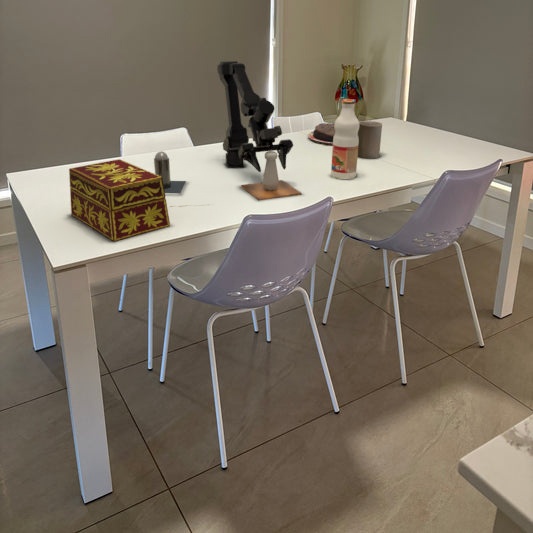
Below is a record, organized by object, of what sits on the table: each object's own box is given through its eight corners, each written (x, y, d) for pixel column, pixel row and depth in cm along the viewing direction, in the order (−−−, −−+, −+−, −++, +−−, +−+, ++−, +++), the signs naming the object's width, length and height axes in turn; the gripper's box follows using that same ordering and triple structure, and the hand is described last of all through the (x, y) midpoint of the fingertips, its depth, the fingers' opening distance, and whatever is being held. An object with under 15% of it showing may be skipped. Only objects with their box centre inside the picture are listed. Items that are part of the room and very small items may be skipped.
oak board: (281, 181, 215) (281, 180, 215) (301, 194, 202) (301, 192, 201) (241, 186, 209) (240, 185, 209) (258, 200, 196) (258, 198, 196)
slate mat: (186, 182, 213) (186, 181, 212) (180, 195, 200) (180, 193, 200) (147, 181, 213) (147, 180, 213) (139, 194, 200) (139, 192, 200)
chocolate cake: (371, 146, 263) (373, 132, 260) (309, 146, 263) (310, 131, 260) (363, 132, 288) (364, 119, 285) (306, 131, 288) (306, 118, 285)
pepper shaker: (170, 184, 209) (168, 149, 204) (170, 188, 204) (168, 153, 199) (156, 184, 208) (153, 150, 203) (155, 189, 204) (153, 154, 198)
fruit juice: (357, 179, 218) (363, 102, 206) (332, 179, 218) (336, 102, 206) (354, 172, 226) (360, 97, 214) (329, 172, 226) (334, 97, 214)
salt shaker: (258, 188, 206) (258, 151, 200) (271, 185, 209) (271, 148, 203) (269, 192, 202) (270, 155, 196) (282, 189, 205) (282, 152, 199)
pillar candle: (353, 157, 246) (356, 121, 240) (359, 152, 254) (362, 116, 248) (376, 160, 243) (380, 123, 236) (381, 154, 251) (385, 118, 244)
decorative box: (70, 215, 182) (64, 167, 175) (124, 202, 193) (120, 157, 187) (113, 241, 163) (107, 190, 157) (170, 226, 174) (167, 177, 168)
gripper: (241, 119, 195) (253, 160, 190) (291, 115, 201) (305, 155, 197) (233, 138, 205) (244, 177, 200) (281, 133, 211) (294, 171, 207)
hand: (272, 170), depth 201 cm, fingers open, 9 cm apart
